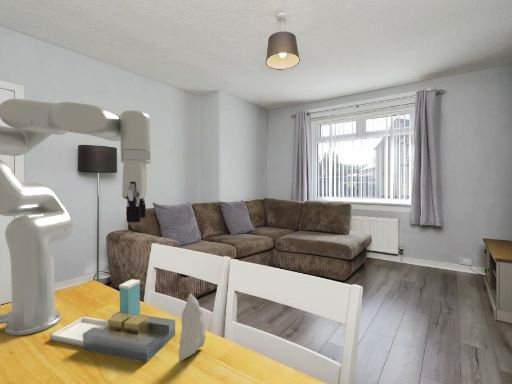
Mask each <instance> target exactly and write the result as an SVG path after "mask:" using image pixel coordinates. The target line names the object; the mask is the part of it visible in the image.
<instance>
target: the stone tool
mask: <svg viewBox="0 0 512 384" xmlns="http://www.w3.org/2000/svg"><path fill="white" fill-rule="evenodd" d="M186 299H187V300H186V304H185V307H184V309H183V311H182V313H181V333H180V338H179V348H178V359H179V362H181V361H183V360H185V359H186V358H189V357H191V356H192V355H193V354H195V353H196V351H197V350H198V349H200V348H201V347H203V346H204V344H205V342H206V327H205V326H206V325H205V317H204V314H203V309H202V308H200V304H199V300H198V299H197V298H196V297H195V296H194V295H193V294H192V293H189V295H188V297H187V298H186Z"/></svg>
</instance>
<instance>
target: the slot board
mask: <svg viewBox="0 0 512 384" xmlns="http://www.w3.org/2000/svg"><path fill="white" fill-rule="evenodd" d="M118 313H125V314H132V313H126V312H120V311H118V312H116V313H114V314H112V315H111V316H110V318H112V317H113V316H115V315H117V314H118ZM134 315H139V314H132V317H133V316H134ZM139 316H145V317H148V333H146V334H145V335H144V336H140V335H134V334H128V333H123V332H117V331H111V330H108V326H107V327H105V328H103V329H99V328H94V327H93V328H91V329H90V330H88V331H86V332H85V333H83V347H82V349H83V351H88V352H92V353H97V354H103V355H106V356H107V355H109V356H111V357H117V358H121V359H122V358H123V359H127V360H128V359H129V360H133V361H138V362H144V363H149V361H150V360H151V359H152V358H153V357H154V356H155V355H156V354H157V353H158V352H159V351H160V350H161V349H162V348H163V347H164V346H166V345H167V343H168V342H170V340H172V339H173V337H175V335H176V319H172V318H165V317H158V316H151V315H144V314H140V315H139Z"/></svg>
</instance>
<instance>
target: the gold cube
mask: <svg viewBox="0 0 512 384" xmlns="http://www.w3.org/2000/svg"><path fill="white" fill-rule="evenodd" d="M124 333H128V334H134V335H140V336H144V335H145V334H146V333H148V317H145V316H139V315H134V316H133V317H131V318H130V319H128V320H127V321H125V322H124Z"/></svg>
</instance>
